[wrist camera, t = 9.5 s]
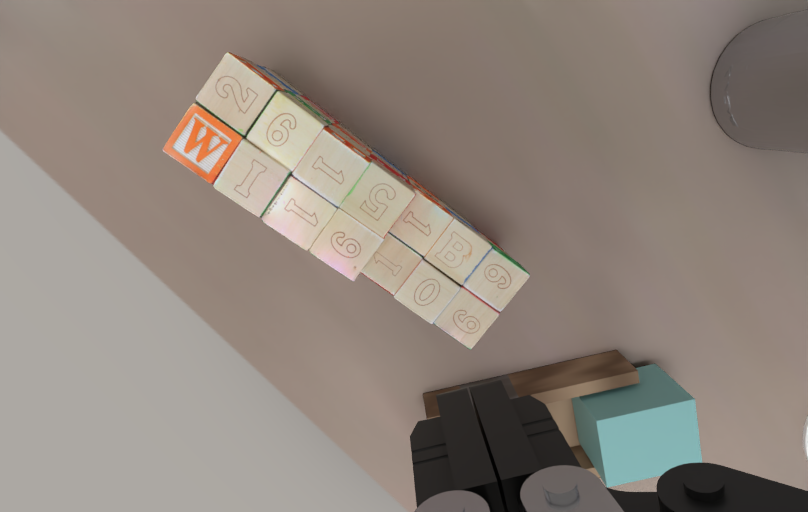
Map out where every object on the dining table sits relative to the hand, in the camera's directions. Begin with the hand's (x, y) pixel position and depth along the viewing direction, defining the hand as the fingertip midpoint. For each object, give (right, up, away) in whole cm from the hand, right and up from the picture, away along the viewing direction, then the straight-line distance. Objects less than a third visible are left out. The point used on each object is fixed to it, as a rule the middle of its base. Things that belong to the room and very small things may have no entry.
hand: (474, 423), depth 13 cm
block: (+16, -8, +34) cm, 38 cm away
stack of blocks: (-4, +8, +31) cm, 32 cm away
